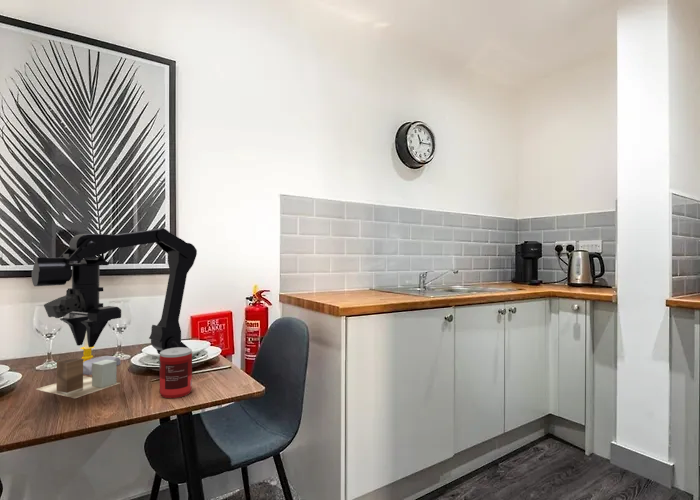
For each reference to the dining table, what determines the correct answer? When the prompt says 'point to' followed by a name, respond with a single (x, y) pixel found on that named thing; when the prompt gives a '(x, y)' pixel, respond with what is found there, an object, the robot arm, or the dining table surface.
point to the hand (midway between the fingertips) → (85, 346)
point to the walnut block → (69, 376)
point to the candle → (86, 350)
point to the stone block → (88, 364)
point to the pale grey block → (104, 373)
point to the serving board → (86, 390)
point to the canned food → (175, 372)
